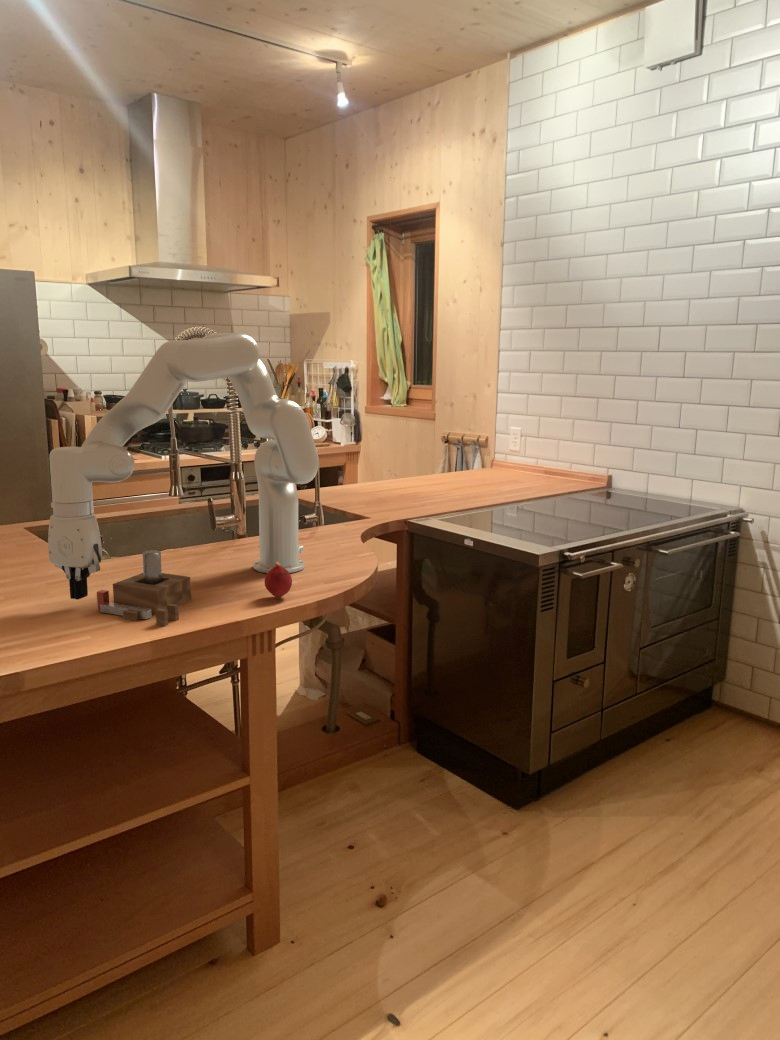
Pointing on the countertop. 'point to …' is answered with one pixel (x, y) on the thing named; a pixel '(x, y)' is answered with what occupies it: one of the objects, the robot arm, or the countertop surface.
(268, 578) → the onion
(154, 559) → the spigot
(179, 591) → the dock
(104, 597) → the lock pin
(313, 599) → the countertop surface
